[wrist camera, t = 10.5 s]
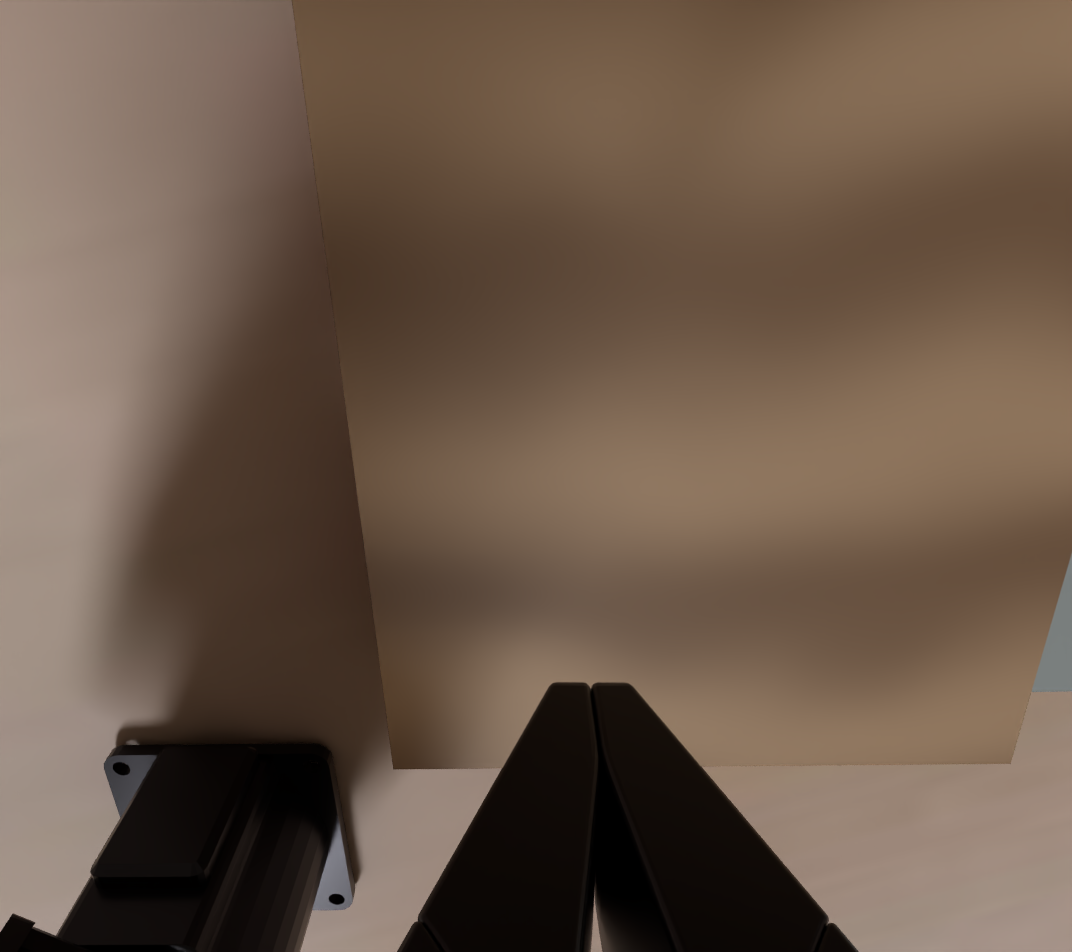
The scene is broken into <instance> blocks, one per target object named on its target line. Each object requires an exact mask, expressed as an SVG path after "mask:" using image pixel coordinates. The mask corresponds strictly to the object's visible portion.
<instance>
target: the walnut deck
mask: <svg viewBox="0 0 1072 952" xmlns="http://www.w3.org/2000/svg"><path fill="white" fill-rule="evenodd" d="M292 5H293V12H294V20H295V27H296V35H297V43H298V50H299V58H300V65H301V73H302V81H303V88H304V96H305V103H306V111H307V118H308V126H309V134H310V141H311V149H312V156H313V164H314V171H315V179H316V187H317V194H318V202H319V209H320V217H321V224H322V232H323V240H324V247H325V255H326V262H327V270H328V278H329V285H330V293H331V300H332V308H333V315H334V323H335V331H336V338H337V346H338V353H339V361H340V368H341V376H342V384H343V391H344V399H345V406H346V414H347V421H348V429H349V437H350V444H351V452H352V459H353V467H354V475H355V482H356V490H357V497H358V505H359V512H360V520H361V528H362V535H363V543H364V550H365V558H366V565H367V573H368V581H369V588H370V596H371V603H372V611H373V618H374V626H375V634H376V641H377V649H378V656H379V664H380V672H381V679H382V687H383V694H384V702H385V709H386V717H387V725H388V732H389V740H390V747H391V755H392V762H393V769H481V768H503V766H504V764H505V762H506V761H507V759H508V757H509V755H510V754H511V752H512V750H513V748H514V747H515V745H516V743H517V741H518V740H519V738H520V736H521V734H522V733H523V731H524V729H525V727H526V726H527V724H528V722H529V720H530V719H531V717H532V715H533V713H534V712H535V710H536V708H537V706H538V705H539V703H540V701H541V699H542V698H543V696H544V694H545V692H546V691H547V689H548V687H549V686H550V685H551V684H552V683H554V682H585V683H587V684H588V685H589V686H590V688H591V687H592V685H593V684H594V683H597V682H625V683H629V684H631V685H632V686H633V687H634V688H635V689H636V690H637V692H638V693H639V694H640V695H641V696H642V697H643V699H644V700H645V701H646V702H647V703H648V704H649V706H650V707H651V708H652V709H653V710H654V712H655V713H656V714H657V715H658V716H659V717H660V719H661V720H662V721H663V722H664V723H665V725H666V726H667V727H668V728H669V729H670V730H671V732H672V733H673V734H674V735H675V736H676V737H677V739H678V740H679V741H680V742H681V743H682V745H683V746H684V747H685V748H686V749H687V750H688V752H689V753H690V754H691V755H692V756H693V758H694V759H695V760H696V761H697V762H698V763H699V765H700V766H805V765H913V764H1010V763H1011V760H1012V757H1013V753H1014V750H1015V746H1016V743H1017V739H1018V736H1019V733H1020V729H1021V726H1022V722H1023V719H1024V715H1025V712H1026V709H1027V705H1028V702H1029V698H1030V695H1031V691H1032V688H1033V685H1034V681H1035V678H1036V674H1037V671H1038V667H1039V664H1040V661H1041V657H1042V654H1043V650H1044V647H1045V643H1046V640H1047V637H1048V633H1049V630H1050V626H1051V623H1052V619H1053V616H1054V612H1055V609H1056V606H1057V602H1058V599H1059V595H1060V592H1061V588H1062V585H1063V582H1064V578H1065V575H1066V571H1067V568H1068V564H1069V561H1070V558H1071V554H1072V0H292Z"/></svg>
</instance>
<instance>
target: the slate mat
mask: <svg viewBox="0 0 1072 952" xmlns="http://www.w3.org/2000/svg"><path fill="white" fill-rule="evenodd" d="M1057 691H1072V554H1071V558H1070V561H1069V564H1068V568H1067V571H1066V575H1065V578H1064V582H1063V585H1062V588H1061V592H1060V595H1059V599H1058V602H1057V606H1056V609H1055V612H1054V616H1053V619H1052V623H1051V626H1050V630H1049V633H1048V637H1047V640H1046V643H1045V647H1044V650H1043V654H1042V657H1041V661H1040V664H1039V667H1038V671H1037V674H1036V678H1035V681H1034V685H1033V688H1032V691H1031V692H1057Z"/></svg>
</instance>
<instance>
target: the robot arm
mask: <svg viewBox="0 0 1072 952" xmlns="http://www.w3.org/2000/svg"><path fill="white" fill-rule="evenodd" d="M309 760H313V761H316V762H318V763H312V762H310V761H309ZM122 762H123V763H122ZM124 763H125V764H124ZM126 764H127V765H126ZM104 770H105V773H106V776H107V779H108V782H109V785H110V788H111V791H112V794H113V797H114V800H115V803H116V806H117V809H118V812H119V815H120V820H119V821H118V823H117V825H116V826H115V828H114V830H113V831H112V833H111V835H110V837H109V838H108V840H107V842H106V843H105V845H104V847H103V848H102V850H101V852H100V853H99V855H98V857H97V859H96V860H95V862H94V864H93V865H92V868H91V871H90V872H91V877H90V878H89V880H88V882H87V883H86V885H85V887H84V889H83V890H82V892H81V894H80V895H79V897H78V899H77V900H76V902H75V904H74V906H73V907H72V909H71V911H70V912H69V914H68V916H67V918H66V919H65V921H64V923H63V924H62V926H61V928H60V929H59V931H58V933H57V935H56V936H55V935H52V934H50V933H47V932H45V931H42V930H40V929H37V928H35V927H33V925H34V924H35V922H33V921H31V920H28V919H26V918H23V917H21V916H18V915H16V914H12V916H11V917H10V918H9V920H8V921H7V923H6V924H5V926H4V927H3V929H2V930H1V932H0V952H300V950H301V947H302V943H303V940H304V936H305V933H306V929H307V926H308V923H309V919H310V916H311V912H312V910H343V909H346V908H348V907H350V905H351V904H352V902H353V897H354V893H355V884H354V878H353V872H352V866H351V860H350V855H349V849H348V843H347V837H346V831H345V825H344V820H343V814H342V808H341V802H340V796H339V791H338V785H337V779H336V773H335V767H334V762H333V756H332V754H331V752H330V751H329V750H328V749H327V748H326V747H324V746H322V745H320V744H314V743H305V744H205V745H123V746H117V747H116V748H114V749H113V750H112V752H111V753H110V755H109V756H108V758H107V759H106V761H105V763H104ZM594 892H595V905H596V912H597V919H598V926H599V933H600V939H601V945H602V951H603V952H858V950H857V949H856V948H855V947H854V946H853V944H852V943H851V942H850V941H849V940H848V939H847V937H846V936H845V935H844V934H843V933H842V932H841V930H840V929H839V928H838V927H837V926H836V925H835V924H834V923H829V924H828V922H829V918H828V916H827V914H826V913H825V912H824V911H823V910H822V908H821V907H820V906H819V905H818V904H817V902H816V901H815V900H814V899H813V898H812V897H811V895H810V894H809V893H808V892H807V891H806V890H805V888H804V887H803V886H802V885H801V884H800V882H799V881H798V880H797V879H796V878H795V877H794V875H793V874H792V873H791V872H790V871H789V869H788V868H787V867H786V866H785V865H784V864H783V862H782V861H781V860H780V859H779V858H778V857H777V855H776V854H775V853H774V852H773V851H772V849H771V848H770V847H769V846H768V845H767V844H766V842H765V841H764V840H763V839H762V838H761V836H760V835H759V834H758V833H757V832H756V831H755V829H754V828H753V827H752V826H751V825H750V824H749V822H748V821H747V820H746V819H745V818H744V816H743V815H742V814H741V813H740V812H739V811H738V809H737V808H736V807H735V806H734V805H733V803H732V802H731V801H730V800H729V799H728V798H727V796H726V795H725V794H724V793H723V792H722V791H721V789H720V788H719V787H718V786H717V785H716V783H715V782H714V781H713V780H712V779H711V778H710V776H709V775H708V774H707V773H706V772H705V770H704V769H703V768H702V767H701V766H700V765H699V763H698V762H697V761H696V760H695V759H694V758H693V756H692V755H691V754H690V753H689V752H688V750H687V749H686V748H685V747H684V746H683V745H682V743H681V742H680V741H679V740H678V739H677V737H676V736H675V735H674V734H673V733H672V732H671V730H670V729H669V728H668V727H667V726H666V725H665V723H664V722H663V721H662V720H661V719H660V717H659V716H658V715H657V714H656V713H655V712H654V710H653V709H652V708H651V707H650V706H649V704H648V703H647V702H646V701H645V700H644V699H643V697H642V696H641V695H640V694H639V693H638V692H637V690H636V689H635V688H634V687H633V686H632V685H631V684H629V683H625V682H597V683H594V684H593V685H592V687H591V688H590V686H589V685H588V684H587V683H585V682H554V683H552V684H551V685H550V686H549V687H548V689H547V691H546V692H545V694H544V696H543V698H542V699H541V701H540V703H539V705H538V706H537V708H536V710H535V712H534V713H533V715H532V717H531V719H530V720H529V722H528V724H527V726H526V727H525V729H524V731H523V733H522V734H521V736H520V738H519V740H518V741H517V743H516V745H515V747H514V748H513V750H512V752H511V754H510V755H509V757H508V759H507V761H506V762H505V764H504V766H503V768H502V769H501V771H500V773H499V775H498V777H497V778H496V780H495V782H494V784H493V785H492V787H491V789H490V791H489V792H488V794H487V796H486V798H485V799H484V801H483V803H482V805H481V806H480V808H479V810H478V812H477V813H476V815H475V817H474V819H473V820H472V822H471V824H470V826H469V827H468V829H467V831H466V833H465V834H464V836H463V838H462V840H461V841H460V843H459V845H458V847H457V848H456V850H455V852H454V854H453V855H452V857H451V859H450V861H449V862H448V864H447V866H446V868H445V869H444V871H443V873H442V875H441V876H440V878H439V880H438V882H437V883H436V885H435V887H434V889H433V890H432V892H431V894H430V896H429V897H428V899H427V901H426V903H425V905H424V906H423V908H422V910H421V912H420V913H419V915H418V922H415V923H414V924H413V925H412V926H411V928H410V930H409V932H408V933H407V935H406V937H405V939H404V940H403V942H402V944H401V946H400V948H399V949H398V951H397V952H591V941H592V927H593V907H594Z"/></svg>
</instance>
